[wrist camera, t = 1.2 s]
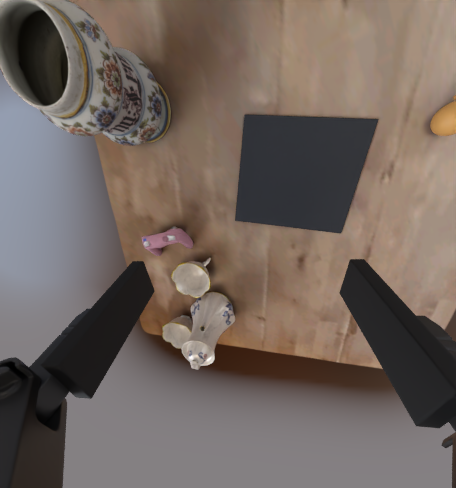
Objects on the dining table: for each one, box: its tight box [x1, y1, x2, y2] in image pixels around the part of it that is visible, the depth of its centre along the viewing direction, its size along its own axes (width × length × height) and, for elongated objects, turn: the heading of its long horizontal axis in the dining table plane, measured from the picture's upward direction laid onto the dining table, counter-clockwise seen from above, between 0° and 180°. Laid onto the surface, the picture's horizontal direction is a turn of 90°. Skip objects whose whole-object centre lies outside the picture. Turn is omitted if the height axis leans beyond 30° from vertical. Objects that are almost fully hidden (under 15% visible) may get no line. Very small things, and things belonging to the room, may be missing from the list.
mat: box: [235, 115, 378, 233], centre depth 33 cm, size 18×20×1 cm
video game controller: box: [142, 227, 193, 256], centre depth 40 cm, size 10×5×7 cm, turn 107°
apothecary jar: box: [0, 0, 171, 146], centre depth 25 cm, size 12×12×18 cm
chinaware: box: [162, 258, 235, 370], centre depth 40 cm, size 28×17×17 cm, turn 169°
